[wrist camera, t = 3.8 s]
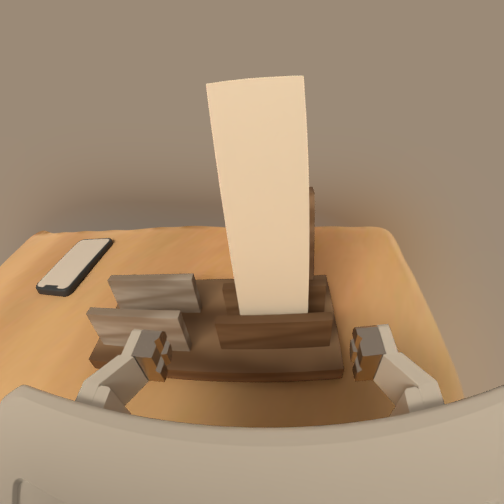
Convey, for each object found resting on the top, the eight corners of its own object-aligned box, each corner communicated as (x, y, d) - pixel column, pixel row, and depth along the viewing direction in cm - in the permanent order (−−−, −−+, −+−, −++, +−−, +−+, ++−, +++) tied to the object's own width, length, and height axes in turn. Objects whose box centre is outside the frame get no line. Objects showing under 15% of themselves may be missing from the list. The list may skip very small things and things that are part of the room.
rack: (341, 377, 24) (351, 335, 21) (95, 367, 27) (68, 329, 23) (325, 284, 35) (327, 242, 32) (134, 289, 38) (120, 252, 35)
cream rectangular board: (306, 334, 27) (303, 75, 15) (243, 336, 28) (205, 83, 16) (305, 316, 29) (299, 76, 17) (245, 318, 30) (213, 83, 18)
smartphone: (82, 246, 52) (36, 295, 39) (80, 239, 52) (32, 287, 38) (116, 244, 51) (70, 299, 38) (114, 237, 50) (66, 290, 37)
